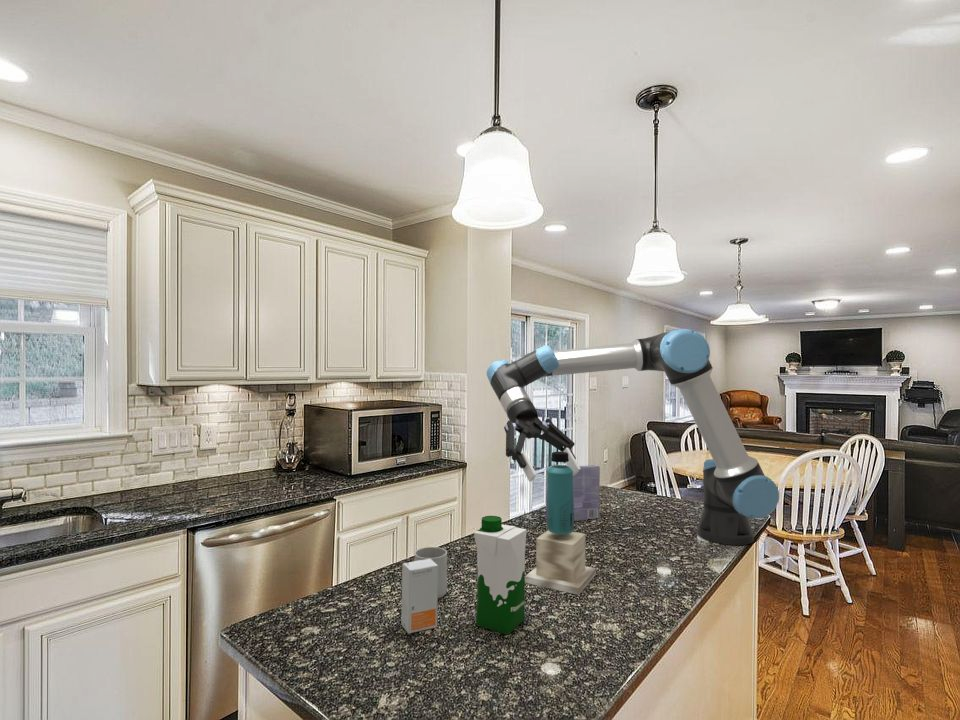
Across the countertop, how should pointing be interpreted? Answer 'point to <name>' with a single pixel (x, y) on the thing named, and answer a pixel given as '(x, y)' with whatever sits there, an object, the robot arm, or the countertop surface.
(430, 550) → the cup
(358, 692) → the countertop surface
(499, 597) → the milk carton
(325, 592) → the countertop surface
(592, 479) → the cake pan box
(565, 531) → the beverage bottle
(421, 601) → the skincare box
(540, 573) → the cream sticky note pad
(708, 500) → the robot arm
